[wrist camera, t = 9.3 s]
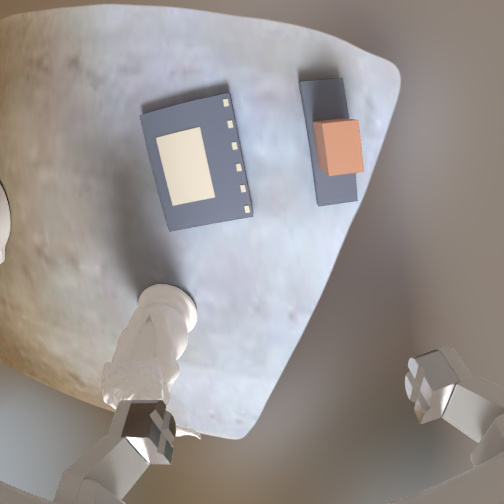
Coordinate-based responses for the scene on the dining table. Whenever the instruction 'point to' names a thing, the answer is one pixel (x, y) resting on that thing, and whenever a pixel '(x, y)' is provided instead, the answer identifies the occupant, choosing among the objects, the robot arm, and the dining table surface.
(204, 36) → the dining table surface
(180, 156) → the grey notebook
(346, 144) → the stub
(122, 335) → the white tall statuette
